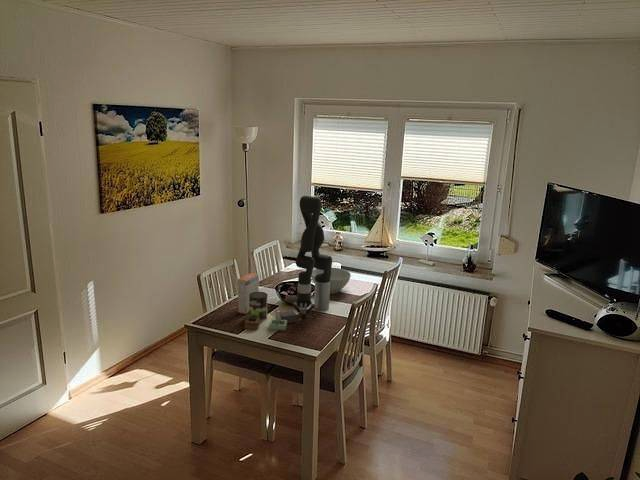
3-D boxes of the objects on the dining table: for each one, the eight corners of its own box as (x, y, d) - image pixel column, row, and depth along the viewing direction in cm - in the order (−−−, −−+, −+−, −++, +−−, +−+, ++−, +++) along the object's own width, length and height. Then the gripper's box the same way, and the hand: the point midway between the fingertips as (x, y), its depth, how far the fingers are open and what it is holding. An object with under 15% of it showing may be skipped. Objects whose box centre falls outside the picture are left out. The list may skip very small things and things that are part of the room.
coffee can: (262, 322, 258) (262, 299, 255) (246, 319, 262) (245, 296, 258) (270, 316, 268) (270, 293, 264) (254, 313, 271) (254, 290, 268)
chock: (279, 320, 263) (279, 312, 262) (292, 317, 267) (292, 310, 266) (282, 324, 258) (283, 316, 257) (296, 322, 262) (296, 314, 261)
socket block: (247, 323, 257) (247, 316, 256) (259, 324, 256) (259, 317, 255) (244, 329, 250) (244, 322, 249) (257, 329, 250) (257, 322, 249)
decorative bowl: (350, 298, 299) (351, 280, 296) (309, 296, 299) (309, 279, 296) (349, 284, 325) (349, 268, 322) (310, 282, 325) (311, 266, 322)
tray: (270, 324, 257) (271, 319, 256) (287, 325, 257) (287, 320, 256) (268, 329, 250) (268, 324, 250) (285, 330, 250) (285, 325, 249)
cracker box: (250, 304, 283) (250, 272, 278) (259, 306, 281) (259, 273, 276) (237, 312, 271) (237, 278, 266) (246, 314, 268) (245, 280, 263)
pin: (275, 325, 255) (275, 310, 252) (280, 325, 255) (281, 310, 252) (275, 327, 252) (275, 312, 250) (280, 327, 252) (280, 312, 250)
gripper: (316, 289, 261) (315, 317, 265) (293, 287, 261) (292, 316, 265) (315, 293, 253) (314, 323, 257) (291, 292, 254) (290, 321, 258)
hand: (303, 319), depth 261 cm, fingers closed
